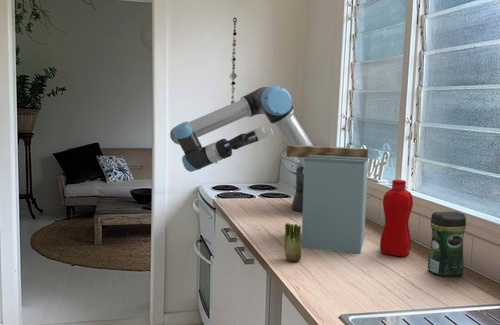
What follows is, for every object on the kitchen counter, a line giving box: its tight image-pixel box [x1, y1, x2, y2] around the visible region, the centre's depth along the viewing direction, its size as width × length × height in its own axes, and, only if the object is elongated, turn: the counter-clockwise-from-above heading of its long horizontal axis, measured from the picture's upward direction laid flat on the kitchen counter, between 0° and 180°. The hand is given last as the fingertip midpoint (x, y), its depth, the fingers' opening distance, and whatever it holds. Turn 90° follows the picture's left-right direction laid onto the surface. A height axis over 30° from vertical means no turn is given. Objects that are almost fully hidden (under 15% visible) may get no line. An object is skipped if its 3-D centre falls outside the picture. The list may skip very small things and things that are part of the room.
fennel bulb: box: [284, 222, 302, 263], centre depth 147 cm, size 6×5×12 cm
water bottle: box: [379, 179, 414, 257], centre depth 157 cm, size 9×11×25 cm
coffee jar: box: [427, 211, 467, 277], centre depth 139 cm, size 10×8×19 cm
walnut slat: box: [286, 144, 369, 161], centre depth 170 cm, size 29×4×4 cm, turn 72°
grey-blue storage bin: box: [301, 155, 369, 254], centre depth 166 cm, size 18×20×31 cm
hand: (268, 130), depth 178 cm, fingers open, 13 cm apart
